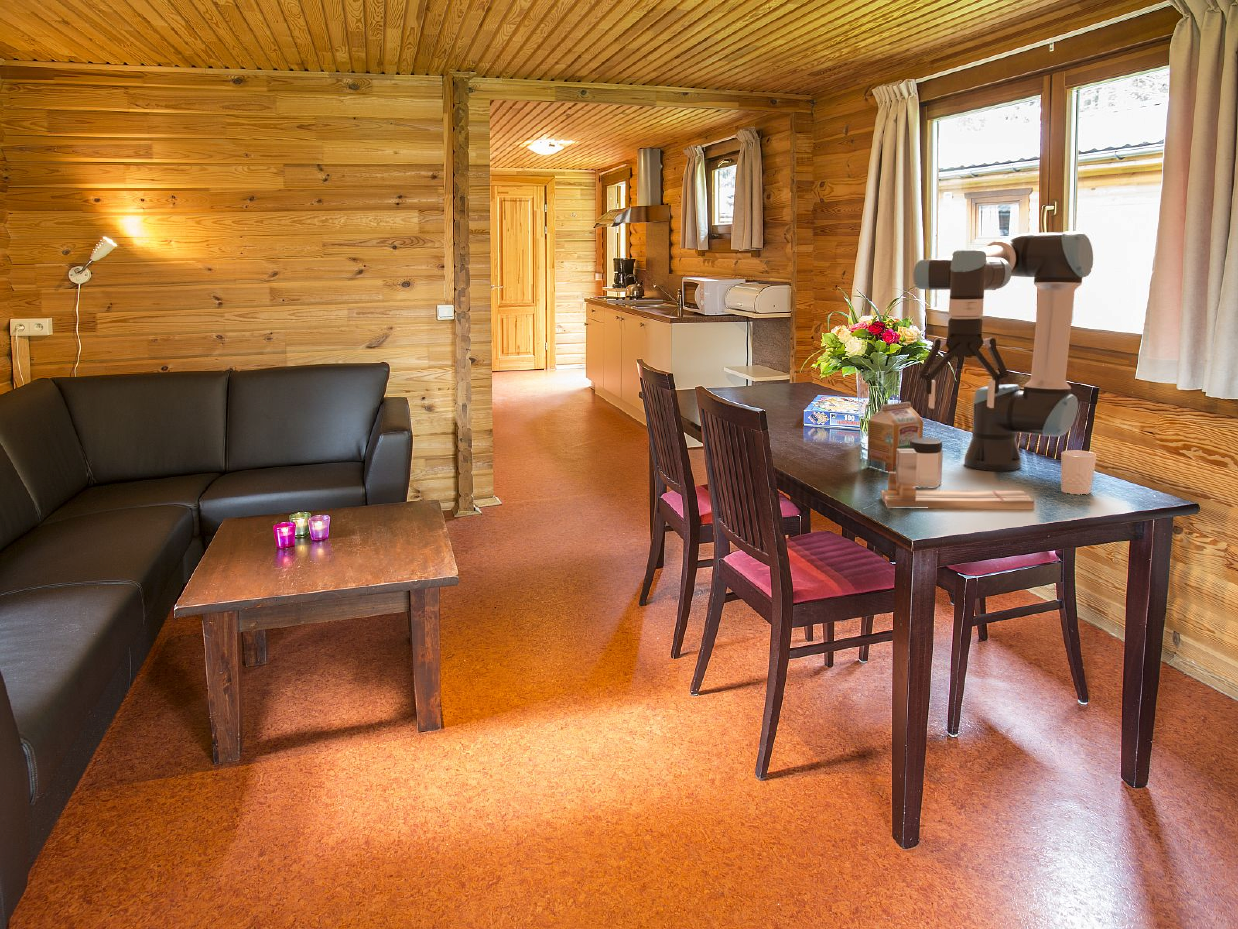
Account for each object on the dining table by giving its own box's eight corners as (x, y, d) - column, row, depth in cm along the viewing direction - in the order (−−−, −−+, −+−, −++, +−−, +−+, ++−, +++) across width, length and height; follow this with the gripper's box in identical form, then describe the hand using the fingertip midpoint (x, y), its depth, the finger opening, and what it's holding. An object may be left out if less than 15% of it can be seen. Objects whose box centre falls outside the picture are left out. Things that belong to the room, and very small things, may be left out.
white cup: (1097, 496, 232) (1100, 456, 229) (1063, 495, 233) (1066, 456, 231) (1088, 488, 239) (1091, 450, 237) (1055, 487, 241) (1058, 450, 238)
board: (881, 498, 236) (881, 490, 236) (1021, 498, 231) (1022, 490, 231) (886, 508, 226) (887, 500, 226) (1033, 509, 222) (1034, 500, 221)
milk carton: (895, 463, 274) (897, 399, 270) (921, 470, 264) (923, 404, 260) (867, 467, 269) (869, 402, 265) (892, 474, 260) (894, 407, 256)
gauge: (887, 494, 238) (889, 444, 235) (912, 494, 237) (914, 444, 234) (896, 508, 225) (897, 456, 222) (921, 508, 224) (923, 455, 221)
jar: (948, 486, 246) (950, 441, 243) (924, 490, 242) (926, 445, 240) (923, 479, 253) (925, 436, 251) (900, 483, 250) (902, 439, 247)
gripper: (914, 319, 215) (910, 410, 219) (1026, 317, 212) (1020, 409, 217) (907, 317, 222) (903, 405, 226) (1015, 315, 219) (1010, 404, 224)
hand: (960, 407), depth 221 cm, fingers open, 13 cm apart
